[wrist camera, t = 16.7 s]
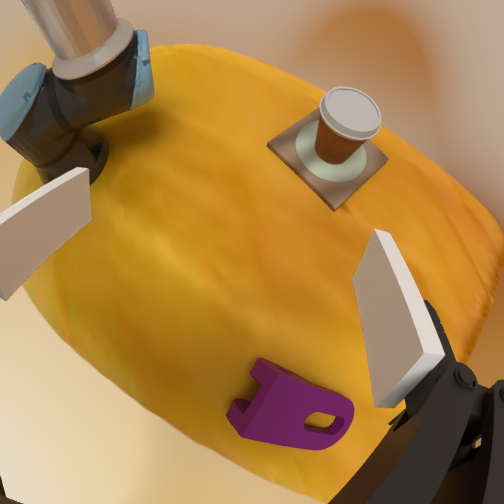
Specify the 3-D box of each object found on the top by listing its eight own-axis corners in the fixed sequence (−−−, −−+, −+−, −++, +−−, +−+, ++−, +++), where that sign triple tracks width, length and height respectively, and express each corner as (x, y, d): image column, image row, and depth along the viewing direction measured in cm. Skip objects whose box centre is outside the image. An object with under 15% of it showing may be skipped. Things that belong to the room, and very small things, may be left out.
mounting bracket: (330, 385, 46) (249, 352, 39) (363, 403, 38) (279, 373, 32) (304, 429, 44) (218, 406, 38) (333, 452, 36) (240, 437, 30)
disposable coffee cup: (325, 181, 46) (349, 143, 34) (294, 137, 47) (308, 92, 36) (367, 161, 47) (396, 124, 35) (336, 121, 49) (356, 79, 37)
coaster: (267, 146, 48) (267, 142, 47) (325, 106, 51) (327, 102, 50) (333, 211, 46) (336, 208, 45) (386, 161, 49) (389, 158, 47)
